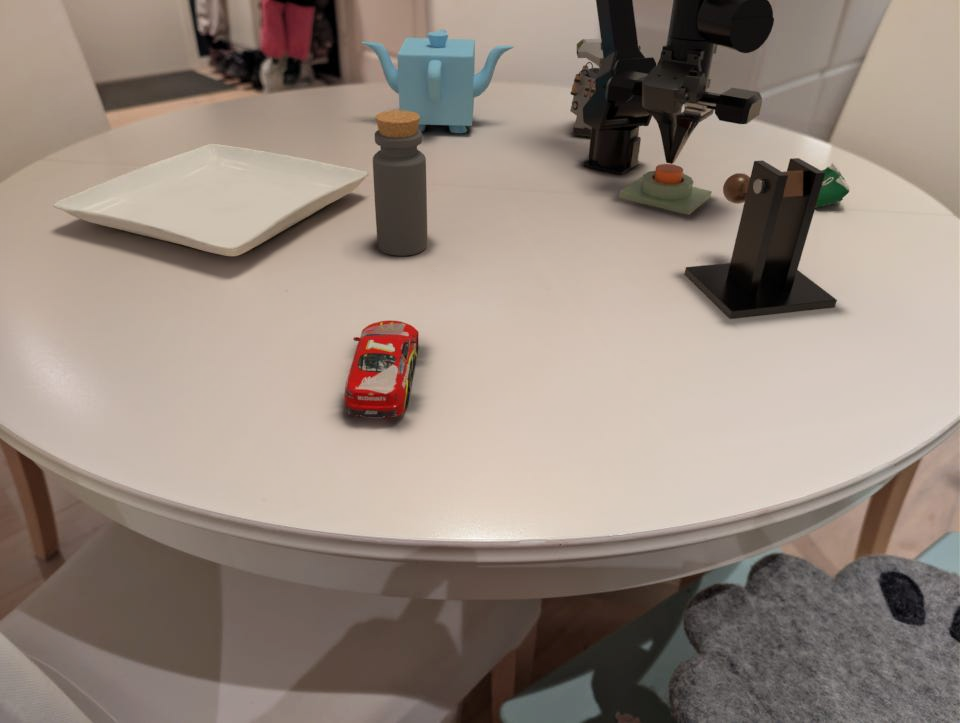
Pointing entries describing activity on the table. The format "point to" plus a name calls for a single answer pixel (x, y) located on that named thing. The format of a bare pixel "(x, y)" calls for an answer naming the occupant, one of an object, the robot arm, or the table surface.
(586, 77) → the figurine
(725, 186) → the lever
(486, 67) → the teakettle
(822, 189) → the green carton
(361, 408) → the race car
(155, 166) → the square plate
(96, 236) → the table surface
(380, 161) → the bottle
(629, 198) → the button block
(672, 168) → the button
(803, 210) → the bracket
